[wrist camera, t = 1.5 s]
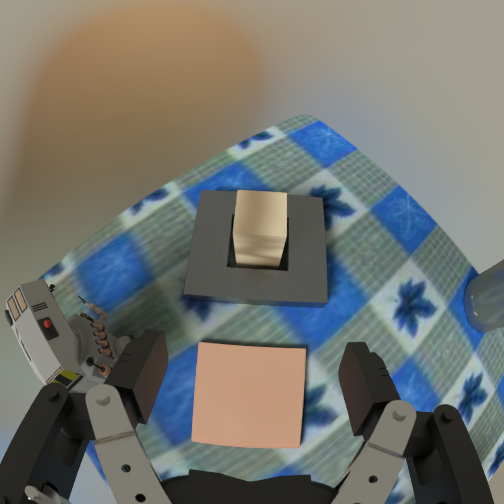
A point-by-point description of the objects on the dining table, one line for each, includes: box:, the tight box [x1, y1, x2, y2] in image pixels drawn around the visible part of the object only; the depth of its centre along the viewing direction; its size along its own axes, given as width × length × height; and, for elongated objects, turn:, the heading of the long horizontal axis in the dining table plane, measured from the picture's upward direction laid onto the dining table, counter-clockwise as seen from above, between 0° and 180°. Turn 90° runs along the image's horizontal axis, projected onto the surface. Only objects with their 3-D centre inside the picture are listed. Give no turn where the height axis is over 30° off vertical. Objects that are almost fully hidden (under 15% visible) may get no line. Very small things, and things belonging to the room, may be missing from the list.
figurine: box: [5, 279, 134, 393], centre depth 22 cm, size 9×12×15 cm
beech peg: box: [233, 190, 287, 270], centre depth 31 cm, size 5×5×9 cm
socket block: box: [183, 190, 328, 308], centre depth 34 cm, size 16×14×2 cm
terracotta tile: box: [192, 342, 306, 448], centre depth 27 cm, size 12×12×1 cm
